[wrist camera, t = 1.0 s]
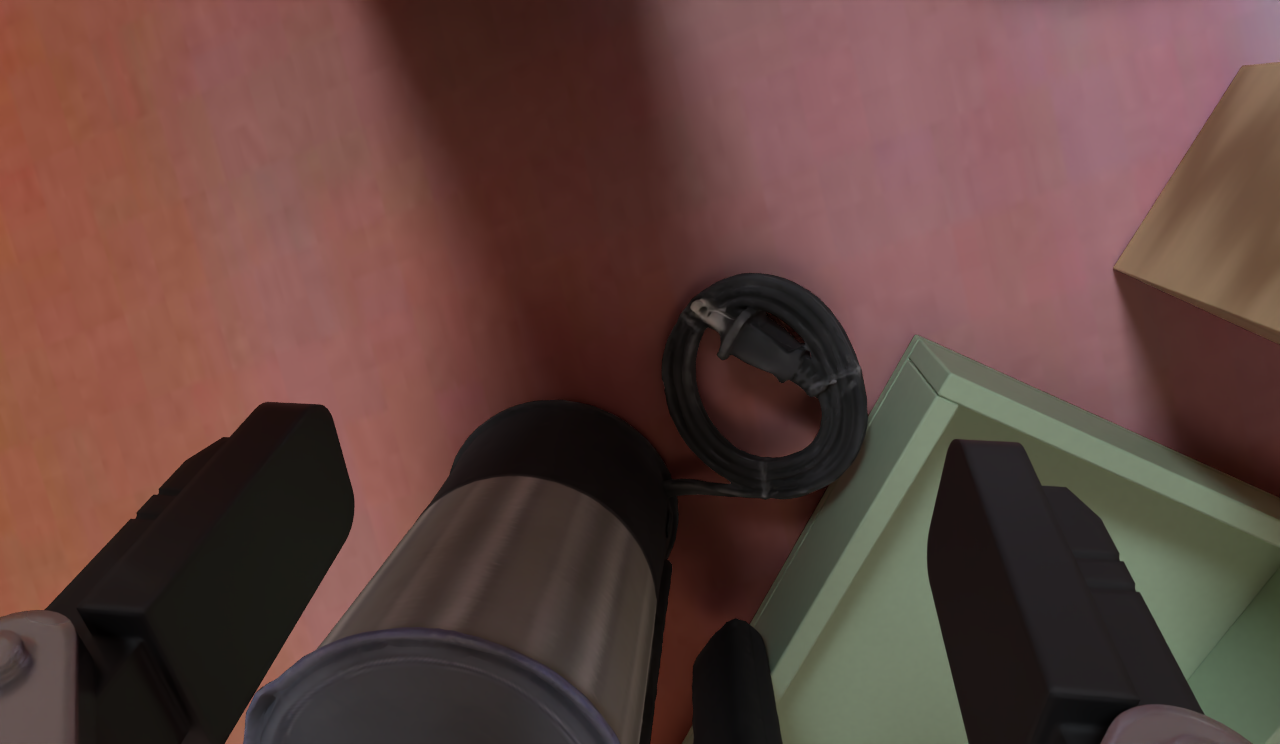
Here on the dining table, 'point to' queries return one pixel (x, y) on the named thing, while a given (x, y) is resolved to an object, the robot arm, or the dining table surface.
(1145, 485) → the shallow green tray
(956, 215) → the dining table surface
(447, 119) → the dining table surface
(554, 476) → the milk frother
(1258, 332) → the stand
